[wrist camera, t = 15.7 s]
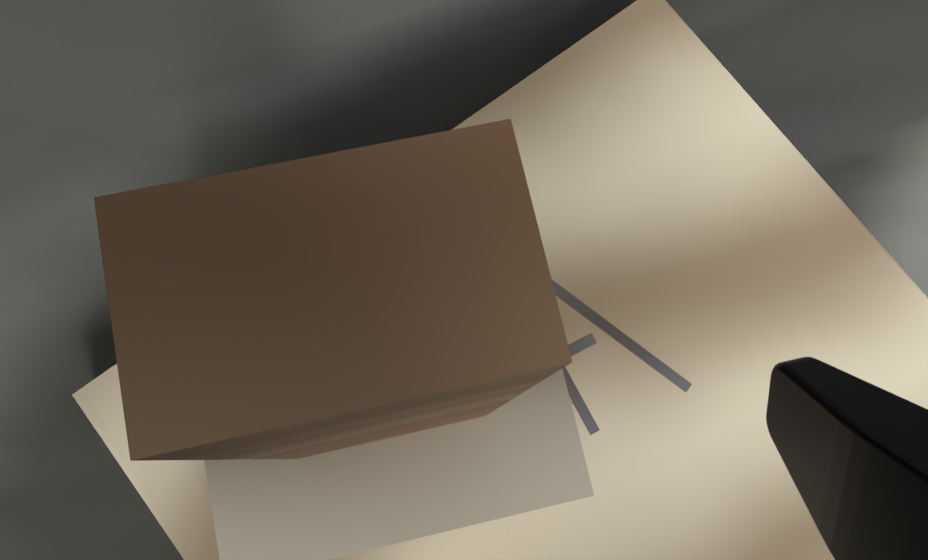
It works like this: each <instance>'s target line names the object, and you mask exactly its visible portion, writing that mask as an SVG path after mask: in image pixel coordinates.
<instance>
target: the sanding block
mask: <svg viewBox="0 0 928 560" xmlns="http://www.w3.org/2000/svg"><path fill="white" fill-rule="evenodd" d="M94 201H95V208H96V215H97V223H98V230H99V237H100V244H101V252H102V259H103V266H104V273H105V281H106V288H107V295H108V302H109V310H110V317H111V324H112V331H113V339H114V346H115V353H116V361H117V368H118V375H119V382H120V390H121V397H122V404H123V411H124V419H125V426H126V433H127V440H128V448H129V455H130V461H150V460H204V463H205V469H206V475H207V482H208V488H209V495H210V501H211V507H212V514H213V520H214V527H215V533H216V539H217V546H218V552H219V559H220V560H330V559H334V558H338V557H343V556H347V555H351V554H355V553H359V552H363V551H367V550H372V549H376V548H380V547H384V546H388V545H392V544H396V543H401V542H405V541H409V540H413V539H417V538H421V537H425V536H430V535H434V534H438V533H442V532H446V531H450V530H454V529H459V528H463V527H467V526H471V525H475V524H479V523H483V522H488V521H492V520H496V519H500V518H504V517H508V516H512V515H517V514H521V513H525V512H529V511H533V510H537V509H541V508H546V507H550V506H554V505H558V504H562V503H566V502H570V501H575V500H579V499H583V498H587V497H591V496H594V493H593V489H592V485H591V481H590V477H589V473H588V469H587V465H586V461H585V457H584V453H583V449H582V445H581V441H580V437H579V433H578V429H577V425H576V421H575V417H574V413H573V409H572V405H571V401H570V397H569V393H568V389H567V385H566V381H565V377H564V373H563V369H562V368H564V367H565V366H567V365H569V364H570V363H572V358H571V354H570V350H569V346H568V342H567V338H566V334H565V330H564V326H563V322H562V318H561V314H560V311H559V307H558V303H557V299H556V295H555V291H554V287H553V283H552V279H551V275H550V271H549V267H548V263H547V259H546V255H545V251H544V248H543V244H542V240H541V236H540V232H539V228H538V224H537V220H536V216H535V212H534V208H533V204H532V200H531V196H530V192H529V188H528V184H527V181H526V177H525V173H524V169H523V165H522V161H521V157H520V153H519V149H518V145H517V141H516V137H515V133H514V129H513V125H512V121H511V119H506V120H501V121H496V122H490V123H485V124H480V125H475V126H469V127H464V128H459V129H453V130H448V131H443V132H438V133H432V134H427V135H422V136H417V137H411V138H406V139H401V140H395V141H390V142H385V143H380V144H374V145H369V146H364V147H359V148H353V149H348V150H343V151H337V152H332V153H327V154H322V155H316V156H311V157H306V158H301V159H295V160H290V161H285V162H280V163H274V164H269V165H264V166H258V167H253V168H248V169H243V170H237V171H232V172H227V173H222V174H216V175H211V176H206V177H200V178H195V179H190V180H185V181H179V182H174V183H169V184H164V185H158V186H153V187H148V188H142V189H137V190H132V191H127V192H121V193H116V194H111V195H106V196H100V197H95V198H94Z"/></svg>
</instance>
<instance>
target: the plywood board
mask: <svg viewBox="0 0 928 560" xmlns="http://www.w3.org/2000/svg"><path fill="white" fill-rule="evenodd" d="M506 119H511V121H512V125H513V129H514V133H515V137H516V141H517V145H518V149H519V153H520V157H521V161H522V165H523V169H524V173H525V177H526V181H527V184H528V188H529V192H530V196H531V200H532V204H533V208H534V212H535V216H536V220H537V224H538V228H539V232H540V236H541V240H542V244H543V248H544V251H545V255H546V259H547V263H548V267H549V271H550V275H551V279H552V283H553V287H554V291H555V295H556V299H557V303H558V307H559V311H560V314H561V318H562V322H563V326H564V330H565V334H566V338H567V342H568V346H569V350H570V354H571V358H572V363H570V364H569V365H567V366H565V367H564V368H562V369H563V373H564V377H565V381H566V385H567V389H568V393H569V397H570V401H571V405H572V409H573V413H574V417H575V421H576V425H577V429H578V433H579V437H580V441H581V445H582V449H583V453H584V457H585V461H586V465H587V469H588V473H589V477H590V481H591V485H592V489H593V493H594V496H591V497H587V498H583V499H579V500H575V501H570V502H566V503H562V504H558V505H554V506H550V507H546V508H541V509H537V510H533V511H529V512H525V513H521V514H517V515H512V516H508V517H504V518H500V519H496V520H492V521H488V522H483V523H479V524H475V525H471V526H467V527H463V528H459V529H454V530H450V531H446V532H442V533H438V534H434V535H430V536H425V537H421V538H417V539H413V540H409V541H405V542H401V543H396V544H392V545H388V546H384V547H380V548H376V549H372V550H367V551H363V552H359V553H355V554H351V555H347V556H343V557H338V558H334V559H330V560H835V559H834V557H833V556H832V554H831V553H830V551H829V549H828V547H827V545H826V544H825V542H824V540H823V538H822V536H821V534H820V533H819V531H818V529H817V527H816V525H815V523H814V521H813V519H812V517H811V515H810V513H809V511H808V509H807V507H806V505H805V503H804V501H803V499H802V497H801V495H800V493H799V491H798V489H797V487H796V486H795V484H794V482H793V480H792V478H791V476H790V474H789V472H788V470H787V468H786V466H785V464H784V462H783V460H782V458H781V456H780V454H779V452H778V450H777V448H776V446H775V444H774V442H773V440H772V438H771V436H770V434H769V431H768V427H767V422H766V411H767V403H768V395H769V386H770V378H771V372H772V369H773V368H774V366H775V365H776V364H778V363H780V362H783V361H788V360H792V359H797V358H801V357H812V358H815V359H818V360H820V361H822V362H825V363H827V364H829V365H831V366H833V367H836V368H838V369H840V370H842V371H844V372H847V373H849V374H851V375H853V376H855V377H858V378H860V379H862V380H864V381H866V382H869V383H871V384H873V385H875V386H877V387H880V388H882V389H884V390H886V391H888V392H891V393H893V394H895V395H897V396H899V397H902V398H904V399H906V400H908V401H910V402H913V403H915V404H917V405H919V406H921V407H924V408H926V409H928V298H927V297H926V296H925V294H924V293H923V292H922V291H921V290H920V289H919V288H918V287H917V285H916V284H915V283H914V282H913V281H912V280H911V279H910V277H909V276H908V275H907V274H906V273H905V272H904V271H903V270H902V268H901V267H900V266H899V265H898V264H897V263H896V262H895V260H894V259H893V258H892V257H891V256H890V255H889V254H888V252H887V251H886V250H885V249H884V248H883V247H882V246H881V245H880V243H879V242H878V241H877V240H876V239H875V238H874V237H873V235H872V234H871V233H870V232H869V231H868V230H867V229H866V228H865V226H864V225H863V224H862V223H861V222H860V221H859V220H858V218H857V217H856V216H855V215H854V214H853V213H852V212H851V211H850V209H849V208H848V207H847V206H846V205H845V204H844V203H843V201H842V200H841V199H840V198H839V197H838V196H837V195H836V194H835V192H834V191H833V190H832V189H831V188H830V187H829V186H828V184H827V183H826V182H825V181H824V180H823V179H822V178H821V177H820V175H819V174H818V173H817V172H816V171H815V170H814V169H813V167H812V166H811V165H810V164H809V163H808V162H807V161H806V160H805V158H804V157H803V156H802V155H801V154H800V153H799V152H798V150H797V149H796V148H795V147H794V146H793V145H792V144H791V143H790V141H789V140H788V139H787V138H786V137H785V136H784V135H783V133H782V132H781V131H780V130H779V129H778V128H777V127H776V126H775V124H774V123H773V122H772V121H771V120H770V119H769V118H768V116H767V115H766V114H765V113H764V112H763V111H762V110H761V109H760V107H759V106H758V105H757V104H756V103H755V102H754V101H753V99H752V98H751V97H750V96H749V95H748V94H747V93H746V91H745V90H744V89H743V88H742V87H741V86H740V85H739V84H738V82H737V81H736V80H735V79H734V78H733V77H732V76H731V74H730V73H729V72H728V71H727V70H726V69H725V68H724V67H723V65H722V64H721V63H720V62H719V61H718V60H717V59H716V57H715V56H714V55H713V54H712V53H711V52H710V51H709V50H708V48H707V47H706V46H705V45H704V44H703V43H702V42H701V40H700V39H699V38H698V37H697V36H696V35H695V34H694V33H693V31H692V30H691V29H690V28H689V27H688V26H687V25H686V23H685V22H684V21H683V20H682V19H681V18H680V17H679V16H678V14H677V13H676V12H675V11H674V10H673V9H672V8H671V6H670V5H669V4H668V3H667V2H666V1H665V0H637V1H635V2H634V3H632V4H631V5H629V6H628V7H627V8H625V9H624V10H622V11H621V12H619V13H618V14H617V15H615V16H614V17H612V18H611V19H609V20H608V21H607V22H605V23H604V24H602V25H601V26H599V27H598V28H597V29H595V30H594V31H592V32H591V33H589V34H588V35H587V36H585V37H584V38H582V39H581V40H579V41H578V42H576V43H575V44H574V45H572V46H571V47H569V48H568V49H566V50H565V51H564V52H562V53H561V54H559V55H558V56H556V57H555V58H554V59H552V60H551V61H549V62H548V63H546V64H545V65H544V66H542V67H541V68H539V69H538V70H536V71H535V72H534V73H532V74H531V75H529V76H528V77H526V78H525V79H524V80H522V81H521V82H519V83H518V84H516V85H515V86H513V87H512V88H511V89H509V90H508V91H506V92H505V93H503V94H502V95H501V96H499V97H498V98H496V99H495V100H493V101H492V102H491V103H489V104H488V105H486V106H485V107H483V108H482V109H481V110H479V111H478V112H476V113H475V114H473V115H472V116H471V117H469V118H468V119H466V120H465V121H463V122H462V123H461V124H459V125H458V126H456V127H455V128H453V129H459V128H464V127H469V126H475V125H480V124H485V123H490V122H496V121H501V120H506ZM453 129H452V130H453ZM72 396H73V397H74V398H75V400H76V401H77V403H78V404H79V406H80V407H81V409H82V410H83V412H84V413H85V415H86V416H87V418H88V419H89V421H90V422H91V423H92V425H93V426H94V428H95V429H96V431H97V432H98V434H99V435H100V437H101V438H102V440H103V441H104V443H105V444H106V446H107V447H108V448H109V450H110V451H111V453H112V454H113V456H114V457H115V459H116V460H117V462H118V463H119V465H120V466H121V468H122V469H123V471H124V472H125V473H126V475H127V476H128V478H129V479H130V481H131V482H132V484H133V485H134V487H135V488H136V490H137V491H138V493H139V494H140V496H141V497H142V498H143V500H144V501H145V503H146V504H147V506H148V507H149V509H150V510H151V512H152V513H153V515H154V516H155V518H156V519H157V521H158V522H159V524H160V525H161V526H162V528H163V529H164V531H165V532H166V534H167V535H168V537H169V538H170V540H171V541H172V543H173V544H174V546H175V547H176V549H177V550H178V551H179V553H180V554H181V556H182V557H183V559H184V560H220V559H219V552H218V546H217V539H216V533H215V527H214V520H213V514H212V507H211V501H210V495H209V488H208V482H207V475H206V469H205V463H204V460H150V461H130V455H129V448H128V440H127V433H126V426H125V419H124V411H123V404H122V397H121V390H120V382H119V375H118V368H117V364H115V365H114V366H113V367H111V368H110V369H108V370H107V371H105V372H104V373H103V374H101V375H100V376H98V377H97V378H95V379H94V380H92V381H91V382H90V383H88V384H87V385H85V386H84V387H82V388H81V389H80V390H78V391H77V392H75V393H74V394H72Z"/></svg>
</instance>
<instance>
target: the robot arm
mask: <svg viewBox="0 0 928 560" xmlns="http://www.w3.org/2000/svg"><path fill="white" fill-rule="evenodd" d="M766 422H767V427H768V431H769V434H770V436H771V438H772V440H773V442H774V444H775V446H776V448H777V450H778V452H779V454H780V456H781V458H782V460H783V462H784V464H785V466H786V468H787V470H788V472H789V474H790V476H791V478H792V480H793V482H794V484H795V486H796V487H797V489H798V491H799V493H800V495H801V497H802V499H803V501H804V503H805V505H806V507H807V509H808V511H809V513H810V515H811V517H812V519H813V521H814V523H815V525H816V527H817V529H818V531H819V533H820V534H821V536H822V538H823V540H824V542H825V544H826V545H827V547H828V549H829V551H830V553H831V554H832V556H833V557H834V559H835V560H928V409H926V408H924V407H921V406H919V405H917V404H915V403H913V402H910V401H908V400H906V399H904V398H902V397H899V396H897V395H895V394H893V393H891V392H888V391H886V390H884V389H882V388H880V387H877V386H875V385H873V384H871V383H869V382H866V381H864V380H862V379H860V378H858V377H855V376H853V375H851V374H849V373H847V372H844V371H842V370H840V369H838V368H836V367H833V366H831V365H829V364H827V363H825V362H822V361H820V360H818V359H815V358H812V357H801V358H797V359H792V360H788V361H783V362H780V363H778V364H776V365H775V366H774V368H773V369H772V372H771V378H770V386H769V395H768V403H767V411H766Z"/></svg>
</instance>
